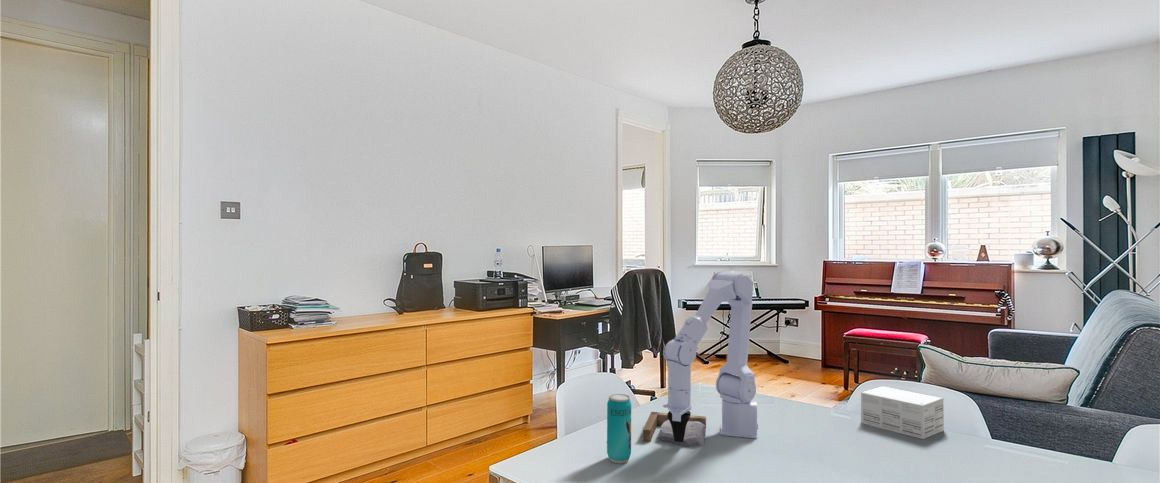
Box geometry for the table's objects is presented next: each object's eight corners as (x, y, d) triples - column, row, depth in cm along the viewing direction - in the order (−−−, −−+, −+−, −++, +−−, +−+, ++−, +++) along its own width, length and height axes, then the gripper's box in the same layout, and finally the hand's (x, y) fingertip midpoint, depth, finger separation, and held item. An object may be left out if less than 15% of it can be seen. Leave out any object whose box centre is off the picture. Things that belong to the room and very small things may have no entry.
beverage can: (629, 465, 126) (630, 400, 126) (605, 463, 127) (605, 399, 127) (632, 456, 131) (632, 394, 132) (608, 454, 133) (609, 392, 133)
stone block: (703, 455, 137) (707, 434, 147) (702, 437, 137) (706, 418, 146) (657, 450, 141) (663, 431, 151) (655, 433, 141) (662, 415, 150)
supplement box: (944, 431, 152) (944, 397, 152) (923, 440, 144) (923, 405, 144) (882, 415, 166) (882, 384, 166) (860, 423, 158) (860, 391, 158)
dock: (706, 427, 153) (706, 416, 153) (703, 447, 138) (703, 435, 138) (651, 422, 157) (651, 411, 157) (642, 440, 142) (642, 429, 142)
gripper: (666, 379, 146) (666, 430, 146) (659, 393, 132) (659, 449, 132) (693, 381, 144) (693, 432, 144) (689, 396, 130) (689, 452, 130)
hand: (678, 441), depth 138 cm, fingers closed
